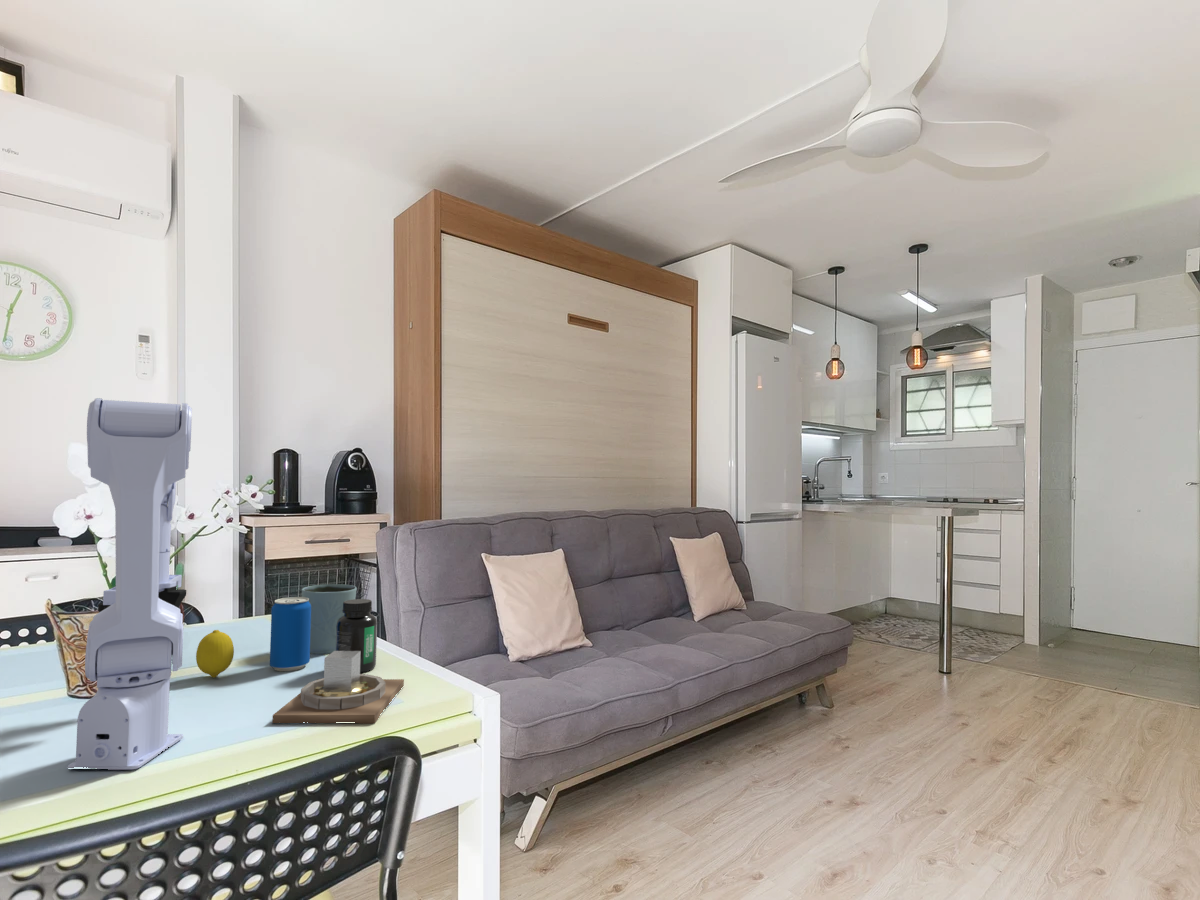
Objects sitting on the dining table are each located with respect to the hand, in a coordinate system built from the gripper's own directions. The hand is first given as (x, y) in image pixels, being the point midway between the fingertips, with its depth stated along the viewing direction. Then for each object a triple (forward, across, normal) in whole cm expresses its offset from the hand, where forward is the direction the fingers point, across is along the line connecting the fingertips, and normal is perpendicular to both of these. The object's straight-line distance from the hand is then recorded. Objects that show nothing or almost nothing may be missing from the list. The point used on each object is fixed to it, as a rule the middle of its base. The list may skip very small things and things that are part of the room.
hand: (143, 645), depth 95 cm
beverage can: (+10, +22, -12) cm, 27 cm away
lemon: (+10, +16, -2) cm, 19 cm away
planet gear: (+8, +3, -28) cm, 29 cm away
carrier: (+9, +3, -28) cm, 30 cm away
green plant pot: (+10, +35, -14) cm, 39 cm away
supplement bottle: (+10, +21, -24) cm, 33 cm away
